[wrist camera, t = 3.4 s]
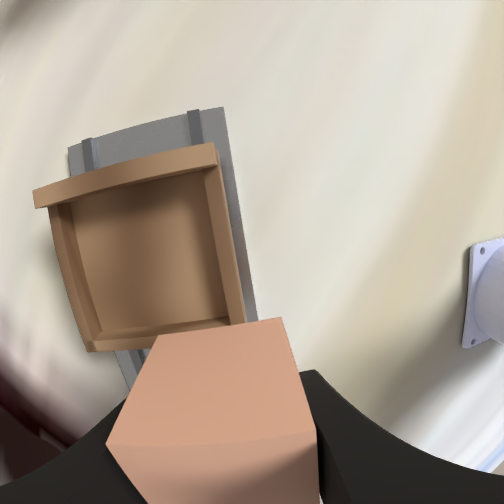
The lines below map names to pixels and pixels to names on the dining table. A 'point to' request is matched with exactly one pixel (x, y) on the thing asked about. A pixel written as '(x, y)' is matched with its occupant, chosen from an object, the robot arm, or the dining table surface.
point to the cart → (146, 248)
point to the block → (219, 420)
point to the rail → (156, 141)
